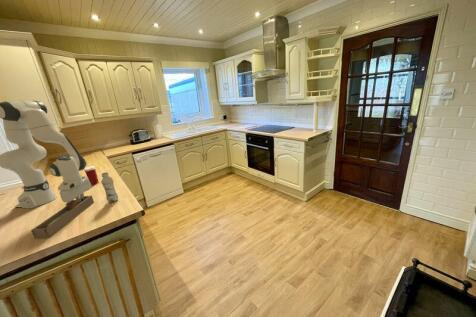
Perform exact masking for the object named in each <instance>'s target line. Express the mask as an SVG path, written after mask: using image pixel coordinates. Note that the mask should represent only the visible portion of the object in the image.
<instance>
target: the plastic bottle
mask: <svg viewBox="0 0 476 317" xmlns="http://www.w3.org/2000/svg"><path fill="white" fill-rule="evenodd" d="M101 177H102V178H101V182H100V183H101V184H102V187H103V189H104V191H105V196H106V201H107V202H108V203H114V202H117V201H118V200H119V195H118V193H117V191H116V188H115V184H114V179H113V178H112V177H111V176H110V174H109V172H102V173H101Z"/></svg>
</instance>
